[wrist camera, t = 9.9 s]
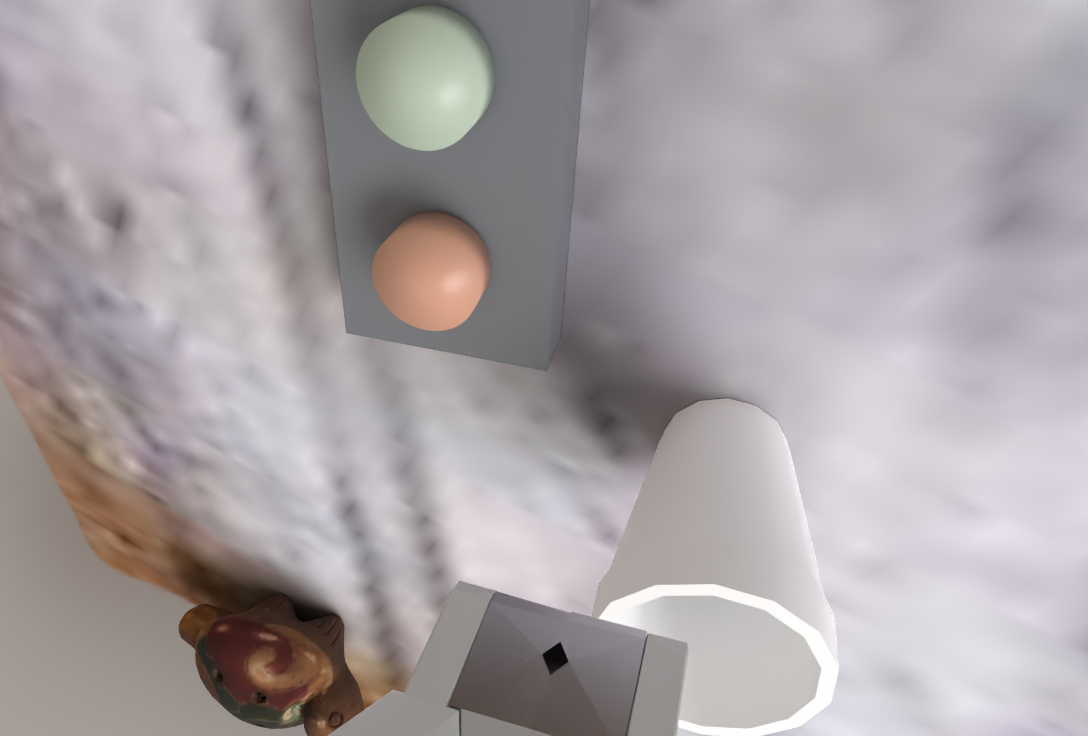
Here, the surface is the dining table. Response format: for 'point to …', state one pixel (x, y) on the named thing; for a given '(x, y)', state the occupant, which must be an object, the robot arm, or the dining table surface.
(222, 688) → the decorative turtle
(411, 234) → the orange rounded lump
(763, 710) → the foam cup
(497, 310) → the console
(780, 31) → the dining table surface
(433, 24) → the sage button
